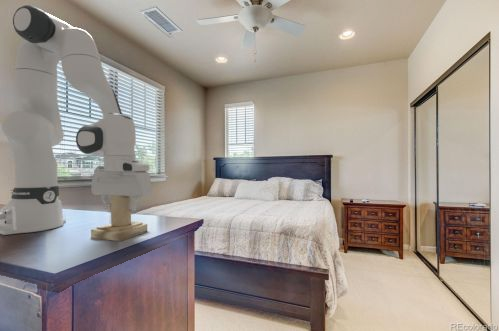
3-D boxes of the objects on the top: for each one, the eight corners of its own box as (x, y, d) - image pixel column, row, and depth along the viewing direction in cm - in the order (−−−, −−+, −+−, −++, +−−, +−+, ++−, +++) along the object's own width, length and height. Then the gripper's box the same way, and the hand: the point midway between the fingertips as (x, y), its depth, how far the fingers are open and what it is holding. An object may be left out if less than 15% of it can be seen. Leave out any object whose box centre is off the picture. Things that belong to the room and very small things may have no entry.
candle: (118, 222, 81) (118, 191, 81) (134, 222, 80) (134, 191, 80) (107, 226, 75) (106, 193, 75) (124, 226, 75) (124, 193, 75)
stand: (91, 237, 74) (90, 227, 74) (120, 228, 84) (120, 219, 84) (120, 241, 71) (120, 230, 71) (147, 231, 81) (147, 222, 81)
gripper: (85, 165, 78) (85, 210, 78) (139, 165, 71) (139, 213, 71) (103, 165, 84) (103, 206, 84) (154, 165, 77) (154, 209, 77)
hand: (120, 209), depth 77 cm, fingers open, 8 cm apart
